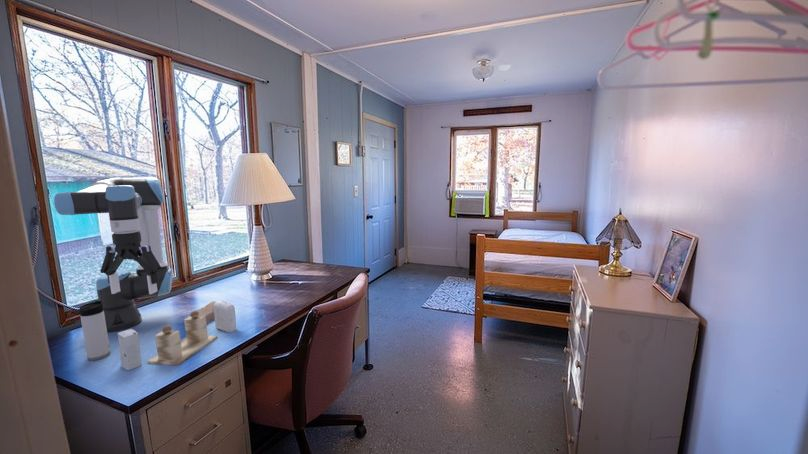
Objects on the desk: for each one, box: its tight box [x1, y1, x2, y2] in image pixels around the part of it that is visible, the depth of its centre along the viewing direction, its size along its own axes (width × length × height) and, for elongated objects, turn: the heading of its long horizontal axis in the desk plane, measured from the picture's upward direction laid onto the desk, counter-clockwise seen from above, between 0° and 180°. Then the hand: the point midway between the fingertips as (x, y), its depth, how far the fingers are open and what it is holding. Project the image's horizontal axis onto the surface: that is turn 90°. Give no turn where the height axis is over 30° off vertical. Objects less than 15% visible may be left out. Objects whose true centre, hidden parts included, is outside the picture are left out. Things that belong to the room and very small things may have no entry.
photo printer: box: [214, 300, 237, 333], centre depth 144 cm, size 10×4×12 cm, turn 60°
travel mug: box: [78, 300, 111, 361], centre depth 123 cm, size 6×7×20 cm
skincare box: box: [117, 328, 142, 371], centre depth 117 cm, size 6×4×12 cm
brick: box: [188, 300, 218, 324], centre depth 158 cm, size 17×8×5 cm, turn 171°
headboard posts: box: [146, 310, 218, 366], centre depth 127 cm, size 12×20×13 cm, turn 171°
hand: (134, 292), depth 117 cm, fingers open, 13 cm apart
